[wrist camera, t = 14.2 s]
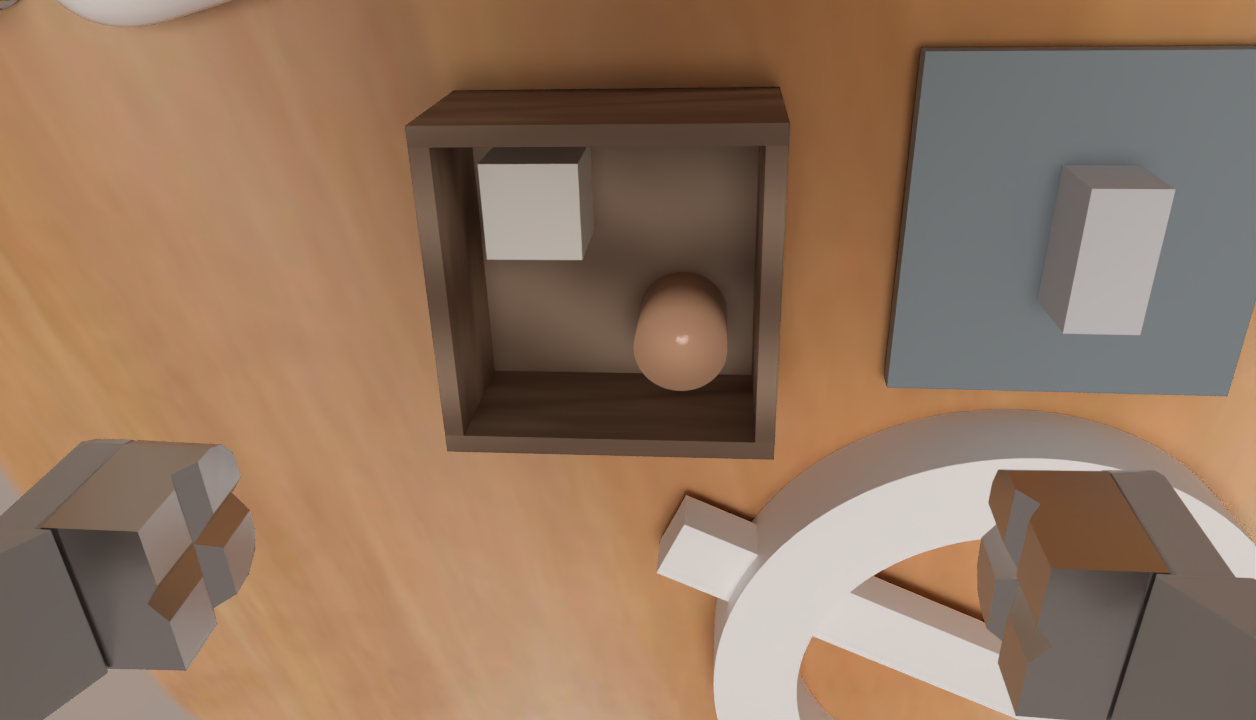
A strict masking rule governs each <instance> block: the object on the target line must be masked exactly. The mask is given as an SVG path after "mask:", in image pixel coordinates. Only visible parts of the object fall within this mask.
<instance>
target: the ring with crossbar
mask: <svg viewBox="0 0 1256 720" xmlns="http://www.w3.org/2000/svg"><path fill="white" fill-rule="evenodd" d="M998 470H1060V471H1102V470H1155V471H1157V472H1159V473H1161V474H1162V475H1164V476H1165V477H1166V478H1167V480H1168V481H1169V483H1170V484H1171V486H1172V487H1173V488H1174V490H1175V491H1176V493H1177V494H1178V496H1179V497H1180V498H1181V500H1182V501H1183V503H1184V504H1185V506H1186V507H1187V508H1188V510H1189V511H1190V513H1191V514H1192V516H1193V517H1194V518H1195V520H1196V521H1197V523H1198V524H1199V526H1200V527H1201V528H1202V530H1203V531H1204V533H1205V534H1206V536H1207V537H1208V538H1209V540H1210V541H1211V543H1212V544H1213V545H1214V547H1215V548H1216V550H1217V551H1218V553H1219V554H1220V555H1221V557H1222V558H1223V560H1224V561H1225V563H1226V564H1227V565H1228V567H1229V568H1230V570H1231V571H1232V573H1233V574H1234V575H1235V577H1239V578H1254V579H1255V580H1256V545H1255V544H1254V543H1253V541H1252V540H1251V539H1250V538H1249V536H1248V535H1247V534H1246V533H1245V532H1244V530H1243V529H1242V528H1241V527H1240V525H1239V524H1238V523H1237V522H1236V520H1235V519H1234V518H1233V517H1232V516H1231V514H1230V513H1229V512H1228V511H1227V509H1226V508H1225V507H1224V506H1223V505H1222V503H1221V502H1220V501H1219V500H1218V498H1217V497H1216V496H1215V495H1214V494H1213V493H1212V491H1211V490H1210V489H1209V488H1208V487H1207V486H1206V485H1205V484H1204V483H1203V482H1202V481H1201V480H1200V479H1199V478H1198V477H1197V476H1196V475H1195V474H1194V473H1193V472H1191V471H1190V470H1189V469H1188V468H1187V467H1185V466H1184V465H1183V464H1182V463H1180V462H1179V461H1177V460H1176V459H1175V458H1173V457H1172V456H1170V455H1169V454H1167V453H1166V452H1164V451H1162V450H1161V449H1159V448H1157V447H1155V446H1154V445H1152V444H1150V443H1148V442H1146V441H1144V440H1142V439H1140V438H1138V437H1136V436H1134V435H1132V434H1129V433H1127V432H1124V431H1122V430H1119V429H1117V428H1114V427H1111V426H1108V425H1105V424H1102V423H1099V422H1095V421H1091V420H1087V419H1083V418H1079V417H1075V416H1070V415H1064V414H1059V413H1052V412H1044V411H1035V410H1019V409H990V410H973V411H964V412H955V413H948V414H943V415H937V416H931V417H927V418H923V419H918V420H914V421H910V422H907V423H903V424H900V425H897V426H893V427H890V428H887V429H885V430H882V431H879V432H876V433H873V434H871V435H869V436H866V437H864V438H862V439H859V440H857V441H855V442H853V443H851V444H849V445H847V446H845V447H843V448H841V449H839V450H837V451H835V452H833V453H832V454H830V455H828V456H826V457H825V458H823V459H821V460H820V461H818V462H817V463H815V464H814V465H812V466H811V467H809V468H808V469H806V470H805V471H803V472H802V473H801V474H800V475H798V476H797V477H796V478H794V479H793V480H792V481H790V482H789V483H788V484H787V485H786V486H785V487H784V488H783V489H781V490H780V491H779V492H778V493H777V494H776V495H775V496H774V497H773V498H772V499H771V500H770V501H769V502H768V503H767V504H766V505H765V506H764V507H763V509H762V510H761V511H760V512H759V513H758V514H757V516H756V517H755V518H754V519H753V521H752V522H750V521H747V520H745V519H743V518H740V517H738V516H735V515H733V514H731V513H728V512H726V511H723V510H721V509H719V508H716V507H714V506H711V505H709V504H707V503H704V502H702V501H699V500H697V499H695V498H692V497H690V496H687V495H686V496H685V498H684V500H683V502H682V503H681V505H680V507H679V509H678V510H677V512H676V514H675V516H674V517H673V519H672V521H671V523H670V524H669V526H668V528H667V530H666V532H665V533H664V535H663V537H662V539H661V540H660V543H659V553H658V563H657V573H658V574H661V575H663V576H666V577H668V578H671V579H673V580H676V581H678V582H681V583H683V584H686V585H688V586H690V587H693V588H695V589H698V590H700V591H703V592H705V593H708V594H710V595H713V596H715V597H717V601H716V608H715V624H714V701H715V707H716V714H717V718H718V720H835V719H834V718H833V717H832V716H830V715H829V714H828V713H827V712H826V711H825V710H824V709H823V708H822V707H821V706H820V705H819V703H818V702H817V701H816V700H815V699H814V697H813V696H812V694H811V693H810V692H809V690H808V688H807V687H806V685H805V683H804V682H803V680H802V678H801V675H800V673H799V668H800V665H801V661H802V658H803V655H804V653H805V650H806V648H807V646H808V644H809V642H810V639H811V638H812V636H814V637H816V638H819V639H821V640H824V641H826V642H828V643H831V644H833V645H836V646H838V647H841V648H843V649H846V650H848V651H851V652H853V653H856V654H858V655H860V656H863V657H865V658H868V659H870V660H873V661H875V662H878V663H880V664H883V665H885V666H888V667H890V668H893V669H895V670H897V671H900V672H902V673H905V674H907V675H910V676H912V677H915V678H917V679H920V680H922V681H925V682H927V683H929V684H932V685H934V686H937V687H939V688H942V689H944V690H947V691H949V692H952V693H954V694H957V695H959V696H962V697H964V698H966V699H969V700H971V701H974V702H976V703H979V704H981V705H984V706H986V707H989V708H991V709H994V710H996V711H998V712H1001V713H1003V714H1006V715H1008V716H1011V717H1013V718H1016V719H1018V720H1060V719H1048V718H1035V717H1023V716H1016V715H1015V712H1014V709H1013V706H1012V703H1011V700H1010V697H1009V694H1008V691H1007V688H1006V685H1005V682H1004V680H1003V677H1002V674H1001V671H1000V668H999V665H998V659H999V654H1000V649H1001V644H1002V641H1001V640H1000V639H999V638H998V637H996V636H995V635H994V634H993V633H992V632H990V631H989V630H988V629H987V628H986V625H985V622H983V621H980V620H978V619H975V618H973V617H971V616H968V615H966V614H963V613H961V612H959V611H956V610H954V609H951V608H949V607H947V606H944V605H942V604H939V603H937V602H934V601H932V600H930V599H927V598H925V597H922V596H920V595H918V594H915V593H913V592H910V591H908V590H906V589H903V588H901V587H898V586H896V585H894V584H891V583H889V582H886V581H884V580H882V579H879V578H877V577H874V575H875V574H877V573H879V572H880V571H882V570H884V569H886V568H888V567H890V566H891V565H893V564H895V563H898V562H900V561H902V560H904V559H907V558H909V557H912V556H914V555H917V554H920V553H922V552H925V551H929V550H932V549H935V548H939V547H942V546H946V545H950V544H955V543H960V542H965V541H972V540H979V539H981V537H983V536H984V535H985V534H986V533H987V532H988V531H989V530H990V529H992V528H993V527H994V526H995V525H996V522H995V519H994V517H993V514H992V511H991V509H990V506H989V503H988V501H989V496H990V491H991V486H992V482H993V480H994V478H995V475H996V473H997V471H998Z"/></svg>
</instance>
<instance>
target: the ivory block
mask: <svg viewBox="0 0 1256 720" xmlns="http://www.w3.org/2000/svg"><path fill="white" fill-rule="evenodd" d="M478 174H479V185H480V195H481V205H482V215H483V225H484V235H485V245H486V256H487V260H583V258H584V255H585V252H586V250H587V247H588V245H589V242H590V239H591V237H592V234H593V232H594V209H593V187H592V164H591V147H493V148H492V149H491V150H490V151H489V152H488V153H487V154H486V155H485V157H484V158H483V159H482V160H481V161H480V162H479V163H478Z"/></svg>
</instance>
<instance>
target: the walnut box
mask: <svg viewBox="0 0 1256 720" xmlns="http://www.w3.org/2000/svg"><path fill="white" fill-rule="evenodd" d="M405 130H406V138H407V145H408V153H409V161H410V168H411V176H412V184H413V191H414V199H415V207H416V214H417V222H418V230H419V237H420V245H421V253H422V260H423V268H424V276H425V284H426V291H427V299H428V307H429V314H430V322H431V330H432V337H433V345H434V353H435V360H436V368H437V376H438V383H439V391H440V399H441V406H442V414H443V422H444V429H445V437H446V445H447V451H454V452H494V453H534V454H574V455H613V456H653V457H693V458H732V459H772V460H774V445H775V424H776V403H777V382H778V361H779V340H780V319H781V298H782V277H783V256H784V235H785V214H786V193H787V172H788V151H789V130H790V122H789V118H788V115H787V111H786V108H785V104H784V101H783V97H782V94H781V90H780V87H727V88H639V89H551V90H462V91H452V92H451V93H450V94H448V95H447V96H446V97H444V98H443V99H441V100H440V101H439V102H437V103H436V104H435V105H433V106H432V107H430V108H429V109H428V110H426V111H425V112H424V113H422V114H421V115H419V116H418V117H417V118H415V119H414V120H413V121H411V122H410V123H408V124H407V125H406V126H405ZM493 147H591V164H592V187H593V209H594V232H593V234H592V237H591V239H590V242H589V245H588V247H587V250H586V252H585V255H584V258H583V260H487V256H486V245H485V235H484V225H483V215H482V205H481V195H480V185H479V174H478V163H479V162H480V161H481V160H482V159H483V158H484V157H485V155H486V154H487V153H488V152H489V151H490V150H491V149H492V148H493ZM676 272H691V273H696V274H699V275H702V276H704V277H706V278H707V279H709V280H711V281H712V282H713V283H714V284H715V285H716V286H717V287H718V288H719V289H720V291H721V292H722V294H723V296H724V298H725V301H726V305H727V357H726V361H725V364H724V366H723V368H722V370H721V371H720V373H719V374H718V375H717V376H716V377H715V378H714V379H713V380H712V381H710V382H709V383H708V384H706V385H704V386H702V387H700V388H697V389H693V390H687V391H675V390H670V389H666V388H663V387H661V386H658V385H656V384H655V383H653V382H652V381H650V380H649V379H648V378H647V377H646V376H645V375H644V374H643V373H642V371H641V370H640V369H639V367H638V365H637V363H636V360H635V357H634V350H633V346H634V339H635V334H636V329H637V324H638V319H639V314H640V309H641V304H642V300H643V297H644V295H645V293H646V291H647V290H648V288H649V287H650V286H651V285H652V284H653V283H654V282H655V281H657V280H658V279H660V278H661V277H663V276H665V275H668V274H671V273H676Z"/></svg>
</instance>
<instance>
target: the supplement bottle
mask: <svg viewBox="0 0 1256 720" xmlns="http://www.w3.org/2000/svg"><path fill="white" fill-rule="evenodd" d="M17 1H18V0H0V10H2V9H5V8H7V7H9V6H11V5H13V4H14V3H15V2H17Z"/></svg>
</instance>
